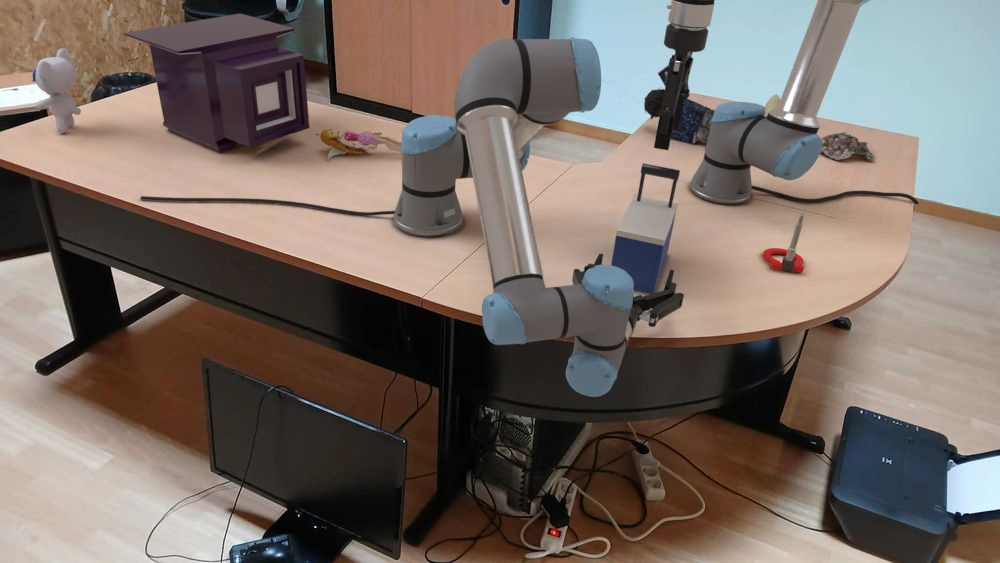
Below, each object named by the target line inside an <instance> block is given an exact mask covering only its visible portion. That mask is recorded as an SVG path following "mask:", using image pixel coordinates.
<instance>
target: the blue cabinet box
mask: <svg viewBox="0 0 1000 563" xmlns="http://www.w3.org/2000/svg"><path fill="white" fill-rule="evenodd" d="M676 214H677V212H676V213H675V216H674V218H673V221H672V224H671V227H670V229H669V232H668V235H667V238H666V240H665V243H664V246H662V245H657V244H653V243H648V242H643V241H639V240H634V239H630V238H625V237H620V236H616V235H615V240H614V244H613V245H614V246H613V252H612V258H611V263H610V265H611V266H615V267H618V268H621V269H623V270H624V271H626V272H627V273H628V274H629V275H630V277H631V278H632V279H633V283H634V291H638V292H642V293H647V294H653V293H656V289H657V287H658V283H659V281H660V278H661V274H662V271H663V268H664V267H665V266H664V265H665V263H666V260H667V257H668V253H669V248H670V243H671V240H672V239H671V238H672V234H673V228H674V225H675V219H676Z"/></svg>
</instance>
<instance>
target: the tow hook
mask: <svg viewBox="0 0 1000 563" xmlns="http://www.w3.org/2000/svg"><path fill="white" fill-rule="evenodd" d="M798 218H799V219H798V222H797V223H796V225H795V228H794V231H793V235H792V237H791V241H790V246H789V247H788V248H787V249H786V248H781V247H779V248H778V247H771V248H766V249H764V251H763V253H762V258H763V260H765V261H766V262H767V263H769V268H770V269H773V270H774V269H775V270H781V271H784V272H797V273H803V272H804V269H805V266H804V262H805V260H804V258H803V257H802V256H801V255H800V254H798V253H796V252H797V245H798V241H799V238H800V235H801V231H802V228H803V222H804V218H805V214H803V213H800V215H799V217H798ZM772 255H783V258H782V261H780V260H778V259H776V258H774V257H773V256H772Z"/></svg>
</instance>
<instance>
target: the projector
mask: <svg viewBox="0 0 1000 563" xmlns="http://www.w3.org/2000/svg"><path fill="white" fill-rule="evenodd" d="M294 31H295V28H294V27H292V26H287V25H283V24H279V23H276V22H272V21H269V20H264V19H262V18H259V17H256V16H255V17H254V16H252V15H247V14H244V13H235V14H230V15H224V16H217V17H212V18H205V19H200V20H194V21H188V22H181V23H175V24H169V25H163V26H157V27H151V28H146V29H145V28H144V29H139V30H134V31H128V32H123V36H125V37H127V38H130V39H133V40H136V41H138V42H142V43H145V44H148V45H149V50H150V54H151V60H152V66H153V71H154V75H155V76H154V77H155V82H156V87H157V92H158V97H159V102H160V107H161V113H162V118H163V122H162V126H163V127H165V128H166V129H167V131H168V132H170V133H172V134H175V135H177V136H179V137H182V138H184V139H187V140H189V141H191V142H193V143H196V144H197V145H200V146H203V147H205V148H207V149H209V150H212V151H215V152H217V153H219V154H220V153H224V152H227V151H229V150H233V149H235V148H237V144H240V145H242V146H245V147H247V148H249V149H250V148H253V147H256V146H259V145H262V144H266V143H269V142H271V141H275V140H278V139H281V138H285V137H287V136H289V135H293V134H296V133H300V132H302V131H305V130H308V129H310V118H309V105H308V94H307V93H308V92H307V80H306V79H307V78H306V68H305V56H304V54H303V53H302V54H301V53H297V52H296V51H295V52H294V51H291V50H288V49H285V48H282V47H279V44H278V40H277V38H280V37H282V36H286V35H287V34H291V33H292V32H294Z"/></svg>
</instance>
